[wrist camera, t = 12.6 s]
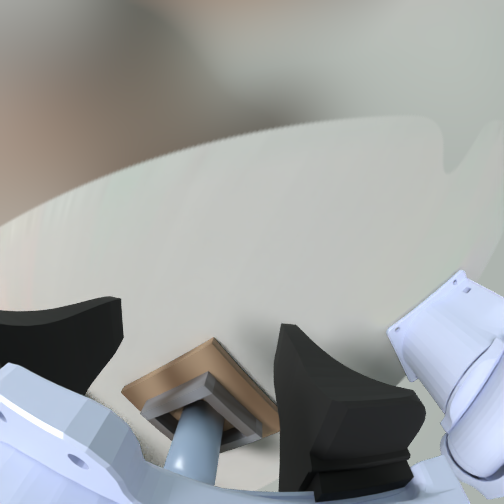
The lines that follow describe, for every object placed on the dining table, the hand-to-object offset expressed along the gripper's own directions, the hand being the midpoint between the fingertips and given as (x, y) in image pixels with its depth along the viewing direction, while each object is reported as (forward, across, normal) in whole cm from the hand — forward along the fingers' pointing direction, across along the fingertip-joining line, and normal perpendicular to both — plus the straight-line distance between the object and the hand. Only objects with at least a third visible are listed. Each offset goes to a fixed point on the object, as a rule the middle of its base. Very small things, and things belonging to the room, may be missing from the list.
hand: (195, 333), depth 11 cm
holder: (+9, +1, +14) cm, 17 cm away
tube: (+8, +1, +14) cm, 16 cm away
